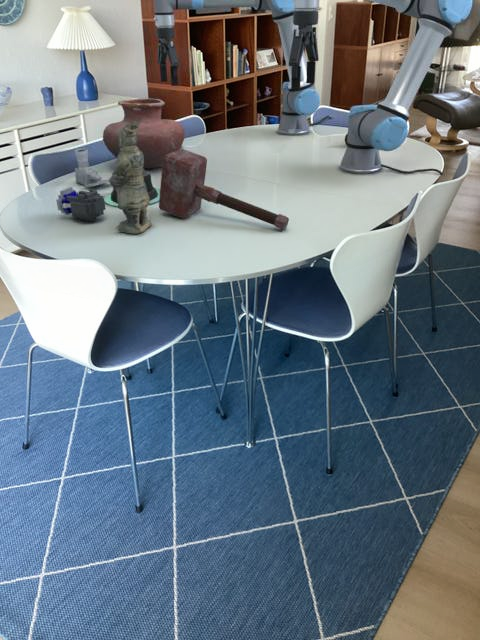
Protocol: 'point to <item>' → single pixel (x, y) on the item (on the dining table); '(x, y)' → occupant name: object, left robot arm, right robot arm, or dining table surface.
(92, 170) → the grey l-shaped piece
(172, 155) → the sledgehammer
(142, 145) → the clay pot
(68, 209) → the toy
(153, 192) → the chocolate cake
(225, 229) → the dining table surface
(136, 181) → the statue
